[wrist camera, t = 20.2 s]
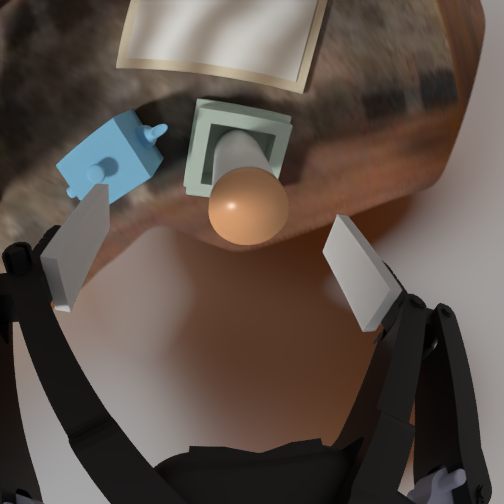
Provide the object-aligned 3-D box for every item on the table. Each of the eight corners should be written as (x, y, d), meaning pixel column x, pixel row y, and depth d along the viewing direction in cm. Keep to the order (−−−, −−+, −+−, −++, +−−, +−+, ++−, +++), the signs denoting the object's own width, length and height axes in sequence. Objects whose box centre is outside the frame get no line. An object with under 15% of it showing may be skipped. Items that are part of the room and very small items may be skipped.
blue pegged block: (164, 89, 23) (144, 94, 17) (194, 139, 26) (185, 160, 20) (74, 153, 25) (39, 179, 19) (103, 195, 28) (77, 230, 22)
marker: (209, 161, 27) (201, 237, 15) (219, 121, 25) (218, 164, 13) (250, 170, 28) (274, 250, 16) (262, 131, 26) (300, 184, 14)
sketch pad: (118, 68, 21) (114, 68, 20) (150, -49, 13) (148, -53, 12) (300, 93, 25) (303, 94, 24) (330, -21, 17) (334, -23, 16)
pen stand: (184, 182, 29) (179, 198, 26) (198, 98, 24) (194, 101, 21) (267, 195, 31) (274, 212, 27) (289, 115, 26) (299, 121, 22)
